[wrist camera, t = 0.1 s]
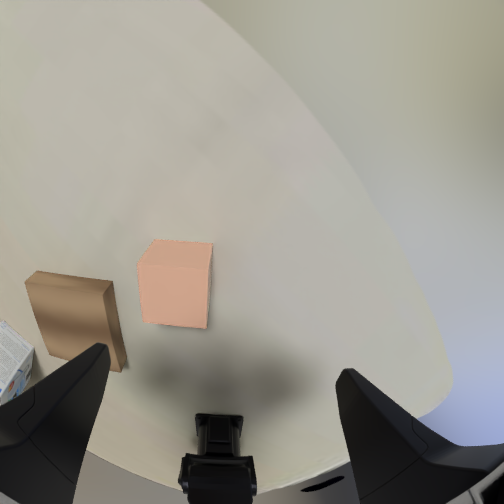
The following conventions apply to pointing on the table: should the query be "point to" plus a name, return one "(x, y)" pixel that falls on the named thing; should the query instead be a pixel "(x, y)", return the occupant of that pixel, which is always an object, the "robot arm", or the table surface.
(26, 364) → the light bulb box
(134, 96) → the table surface
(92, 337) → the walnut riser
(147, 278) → the terracotta cube
